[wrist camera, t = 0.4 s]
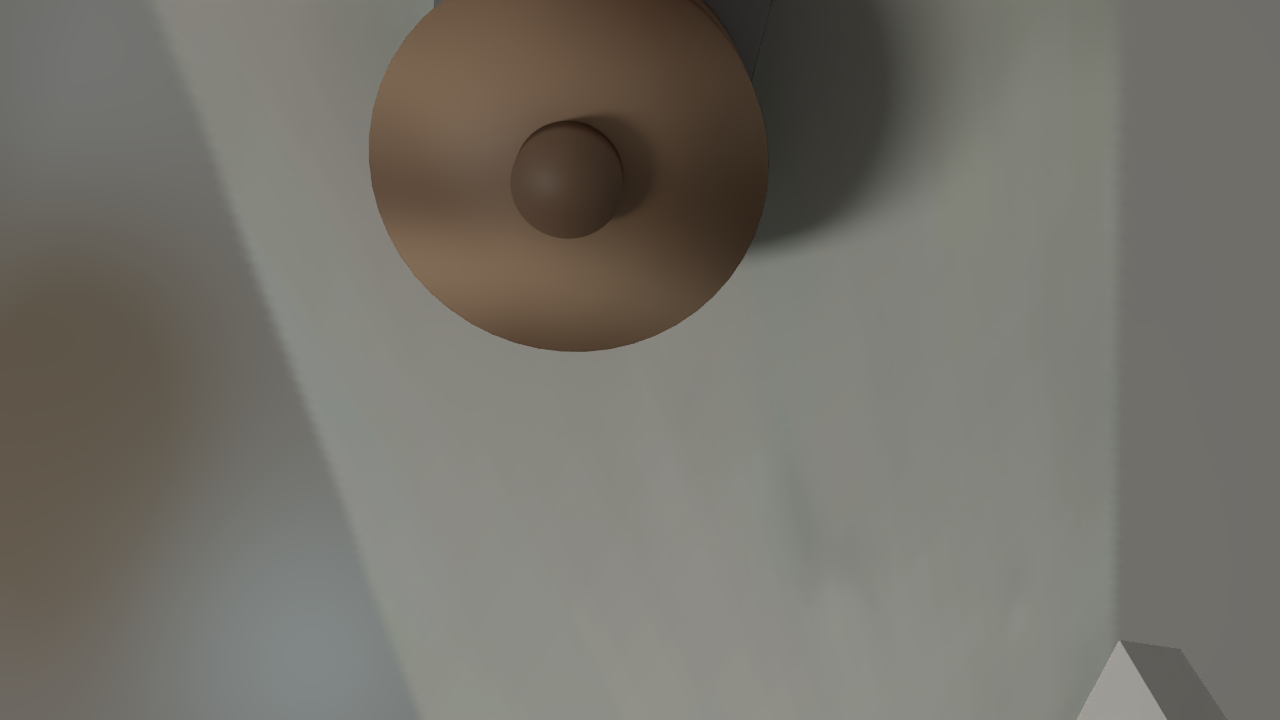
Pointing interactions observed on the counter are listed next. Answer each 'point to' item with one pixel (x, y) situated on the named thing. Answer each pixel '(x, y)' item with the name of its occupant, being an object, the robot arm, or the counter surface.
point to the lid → (570, 164)
